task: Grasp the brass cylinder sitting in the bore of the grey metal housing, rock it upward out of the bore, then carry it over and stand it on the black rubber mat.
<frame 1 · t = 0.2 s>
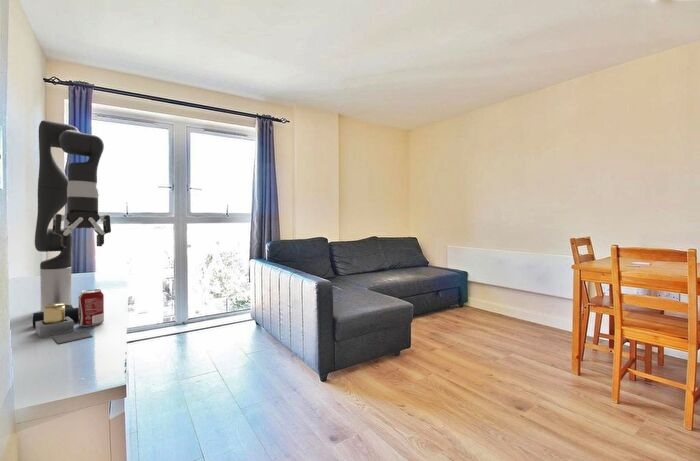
hand: (83, 247, 100), 28 cm above the cabinet, tool pointing down, fingers open, 8 cm apart
mat: (72, 337, 98), on the cabinet
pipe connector: (63, 321, 115), on the cabinet
brass cylinder: (54, 318, 102), in the housing
housing: (54, 331, 102), on the cabinet
soda can: (91, 325, 110), on the cabinet
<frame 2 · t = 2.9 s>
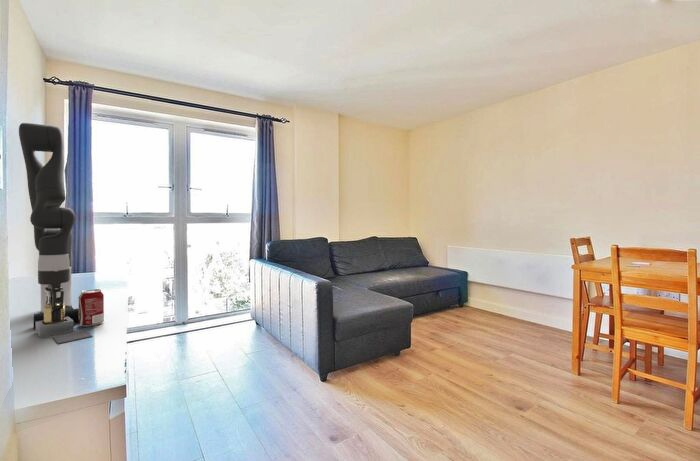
hand: (54, 319, 102), 4 cm above the cabinet, tool pointing down, fingers closed on brass cylinder, 5 cm apart
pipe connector: (64, 322, 113), on the cabinet
brass cylinder: (54, 318, 102), in the housing, touching gripper
everything else where it was.
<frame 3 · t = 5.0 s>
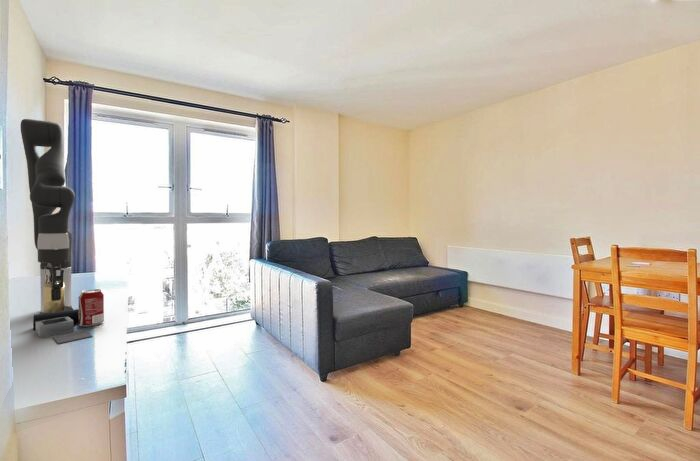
hand: (54, 298, 102), 11 cm above the cabinet, tool pointing down, fingers closed on brass cylinder, 5 cm apart
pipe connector: (64, 323, 112), on the cabinet
brass cylinder: (54, 297, 102), point 11 cm above the cabinet, touching gripper
everything else where it was.
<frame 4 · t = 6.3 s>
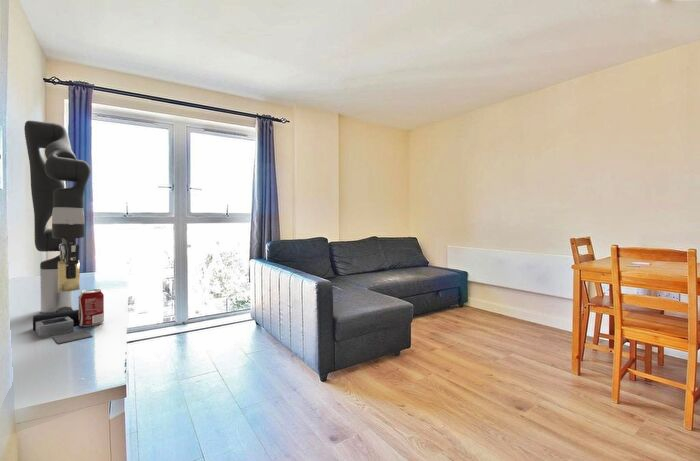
hand: (69, 277, 97), 19 cm above the cabinet, tool pointing down, fingers closed on brass cylinder, 5 cm apart
brass cylinder: (68, 275, 97), point 19 cm above the cabinet, touching gripper
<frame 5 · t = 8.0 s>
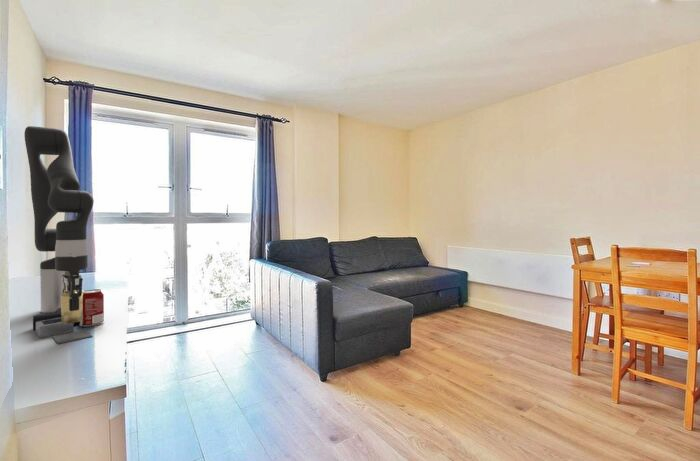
hand: (72, 308, 97), 9 cm above the cabinet, tool pointing down, fingers closed on brass cylinder, 5 cm apart
brass cylinder: (72, 306, 97), point 10 cm above the cabinet, touching gripper
everything else where it was.
when the fingers open (6 cm above the cabinet, at t = 9.5 s): brass cylinder drops 1 cm, resting on mat.
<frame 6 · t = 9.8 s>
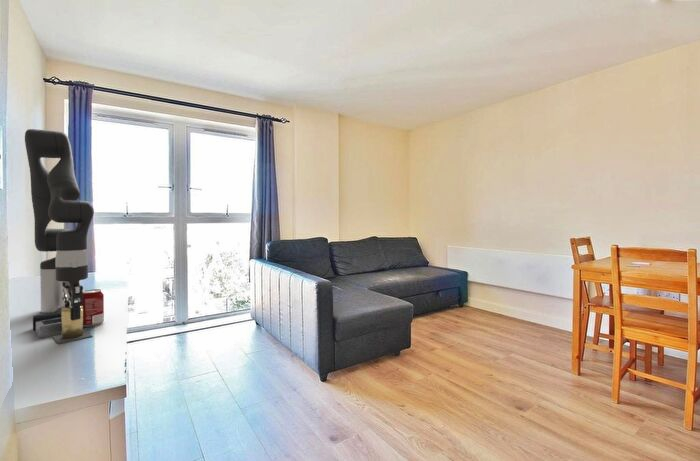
hand: (72, 317, 98), 6 cm above the cabinet, tool pointing down, fingers open, 7 cm apart
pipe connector: (64, 324, 112), on the cabinet, touching housing
brass cylinder: (72, 321, 98), on the mat
everything else where it was.
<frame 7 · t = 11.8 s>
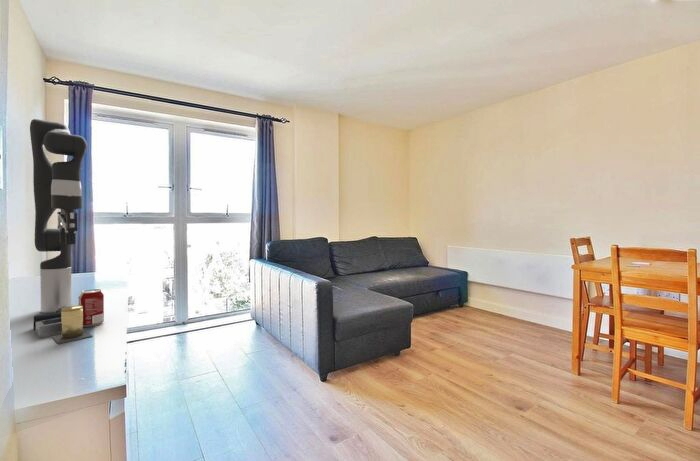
hand: (67, 243, 104), 29 cm above the cabinet, tool pointing down, fingers open, 8 cm apart
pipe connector: (64, 324, 112), on the cabinet
everything else where it was.
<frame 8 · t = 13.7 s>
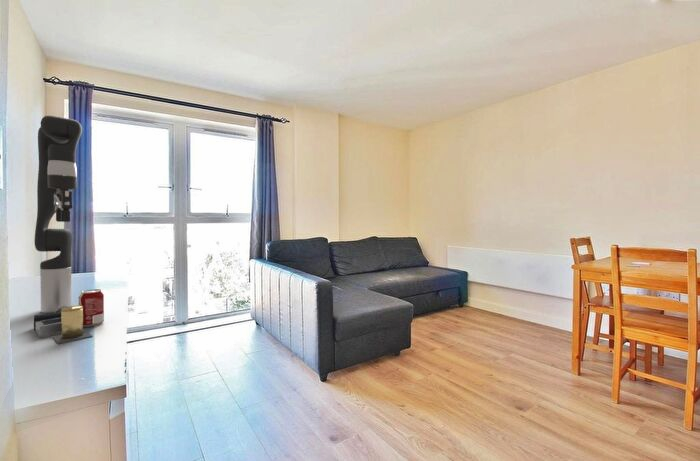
hand: (62, 221, 110), 36 cm above the cabinet, tool pointing down, fingers open, 8 cm apart
nothing on the cabinet moved.
at the end: brass cylinder inside the target area on the mat (0.0 cm from its centre), point 4.9 cm above the mat's base; brass cylinder tilted 0°; the gripper is holding nothing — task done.
